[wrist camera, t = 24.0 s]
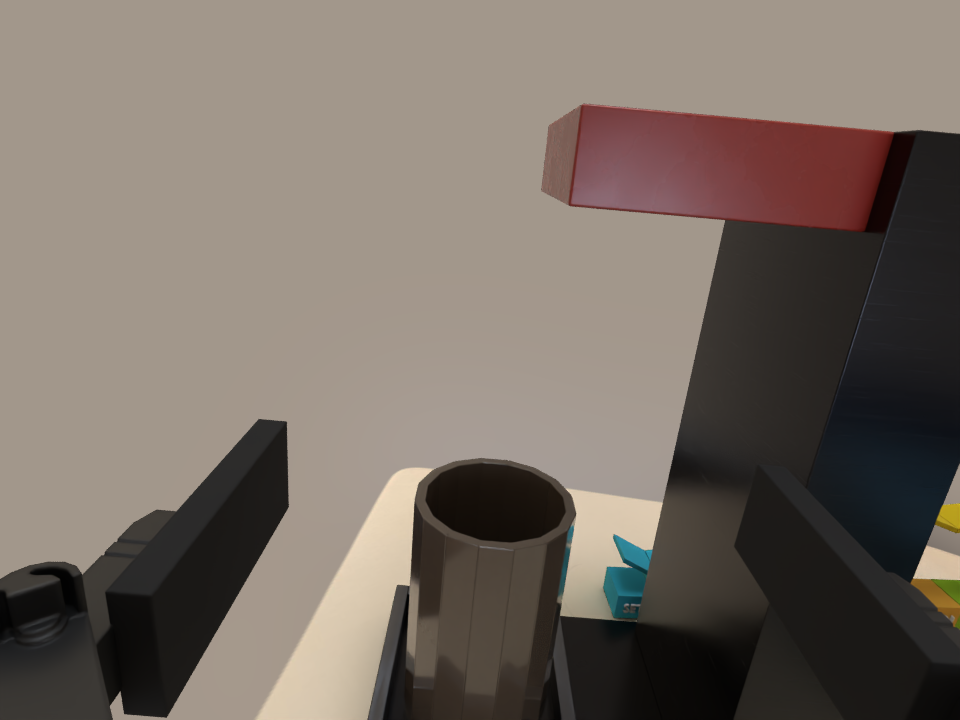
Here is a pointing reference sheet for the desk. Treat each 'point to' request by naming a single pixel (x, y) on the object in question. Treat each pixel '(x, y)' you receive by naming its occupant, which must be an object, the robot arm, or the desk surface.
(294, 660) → the desk surface
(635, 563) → the chart
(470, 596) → the cup
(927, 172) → the coffee maker
